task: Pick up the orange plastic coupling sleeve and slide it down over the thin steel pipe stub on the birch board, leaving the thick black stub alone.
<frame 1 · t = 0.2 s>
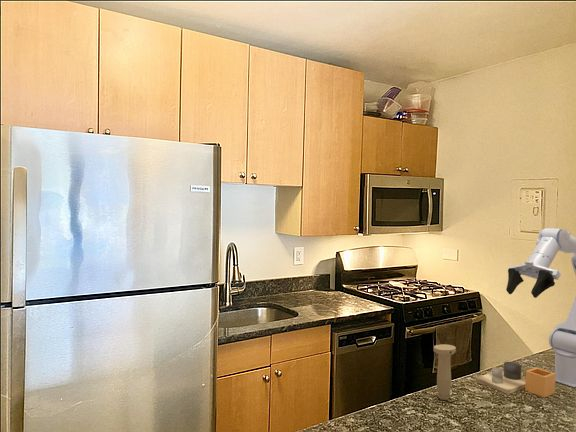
hand: (520, 293, 128), 31 cm above the countertop, tool tilted 45°, fingers open, 7 cm apart
sleeve: (540, 391, 135), on the countertop
fitting board: (504, 382, 142), on the countertop
handle: (443, 398, 130), on the countertop
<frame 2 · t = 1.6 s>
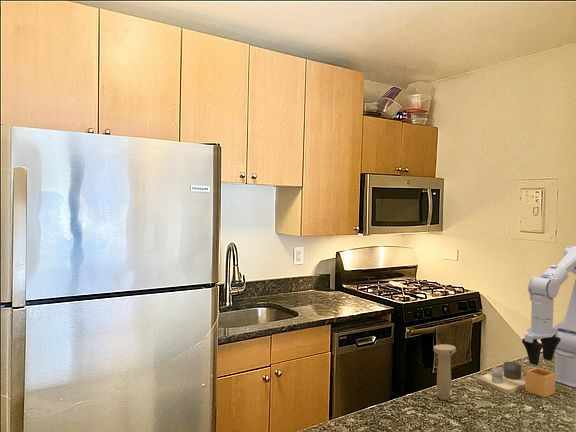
hand: (540, 362, 135), 9 cm above the countertop, tool pointing down, fingers open, 7 cm apart
nothing on the countertop moved.
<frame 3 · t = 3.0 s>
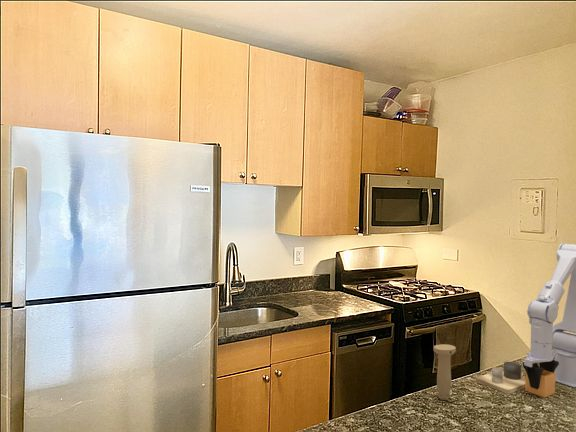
hand: (540, 385, 135), 2 cm above the countertop, tool pointing down, fingers closed on sleeve, 6 cm apart
sleeve: (540, 391, 135), on the countertop, touching gripper
everything else where it was.
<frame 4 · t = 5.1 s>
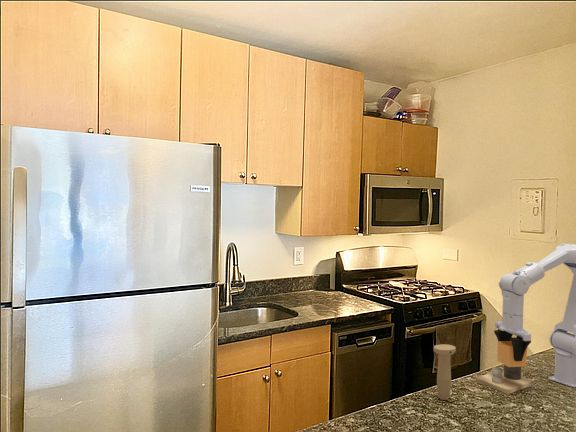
hand: (511, 357, 138), 10 cm above the countertop, tool pointing down, fingers closed on sleeve, 6 cm apart
sleeve: (511, 363, 138), point 8 cm above the countertop, touching gripper
everything else where it was.
when the fingers open (4 cm above the countertop, at t = 7.4 s): sleeve drops 1 cm, resting on fitting board.
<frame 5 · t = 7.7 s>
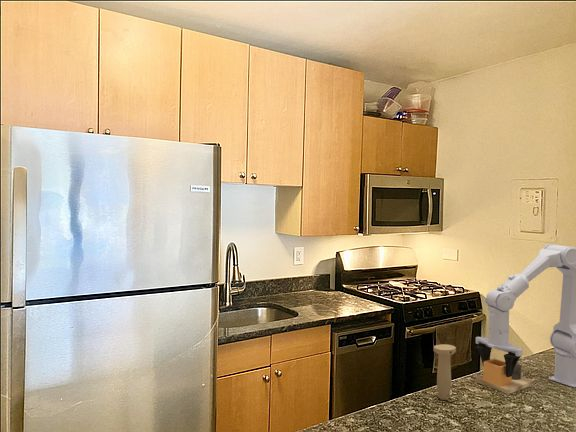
hand: (497, 372, 140), 4 cm above the countertop, tool pointing down, fingers open, 7 cm apart
sleeve: (497, 381, 140), point 1 cm above the countertop, touching fitting board
everything else where it was.
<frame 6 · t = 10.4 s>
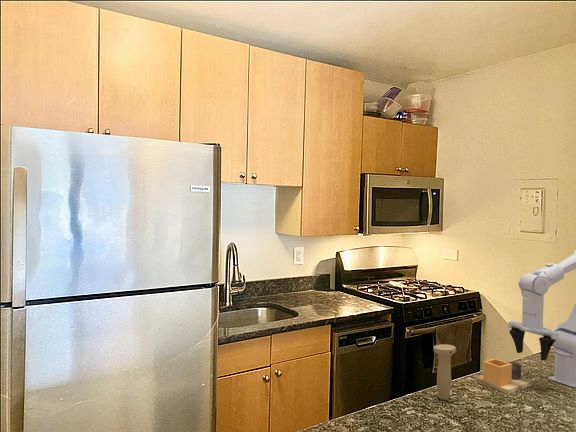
hand: (531, 356, 140), 9 cm above the countertop, tool pointing down, fingers open, 7 cm apart
nothing on the countertop moved.
at the end: sleeve 0.1 cm from the target spot on the fitting board, point 1.2 cm above the fitting board's base; sleeve tilted 0°; the gripper is holding nothing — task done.
